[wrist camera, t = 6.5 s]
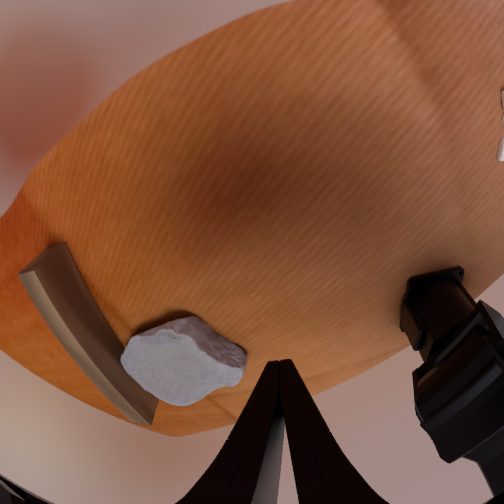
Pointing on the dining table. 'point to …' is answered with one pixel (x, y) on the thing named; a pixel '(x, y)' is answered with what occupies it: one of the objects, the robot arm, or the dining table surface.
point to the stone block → (183, 361)
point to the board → (84, 330)
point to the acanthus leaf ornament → (503, 147)
